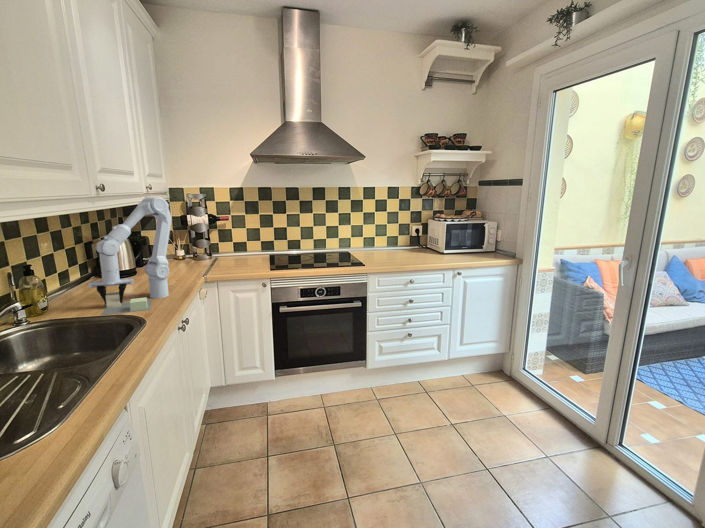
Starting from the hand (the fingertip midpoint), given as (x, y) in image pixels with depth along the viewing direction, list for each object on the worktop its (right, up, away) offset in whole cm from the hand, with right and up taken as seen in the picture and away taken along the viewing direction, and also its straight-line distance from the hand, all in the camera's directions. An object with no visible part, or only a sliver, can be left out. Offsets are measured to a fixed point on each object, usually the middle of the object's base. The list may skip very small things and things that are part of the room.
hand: (113, 303), depth 140 cm
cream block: (0, -1, 0) cm, 1 cm away
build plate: (+6, -2, -1) cm, 7 cm away
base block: (+12, -2, -2) cm, 12 cm away
